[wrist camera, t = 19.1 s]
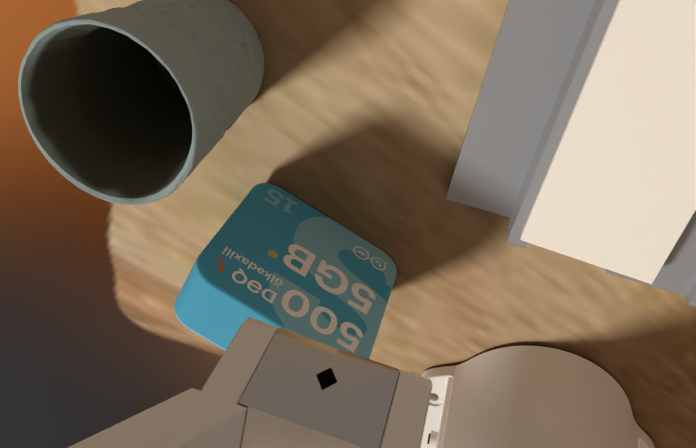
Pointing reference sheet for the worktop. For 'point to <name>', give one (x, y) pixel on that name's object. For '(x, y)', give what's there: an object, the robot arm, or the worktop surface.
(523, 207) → the grooved grey base
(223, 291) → the data package
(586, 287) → the worktop surface
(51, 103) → the teal cup
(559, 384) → the robot arm
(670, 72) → the cover
